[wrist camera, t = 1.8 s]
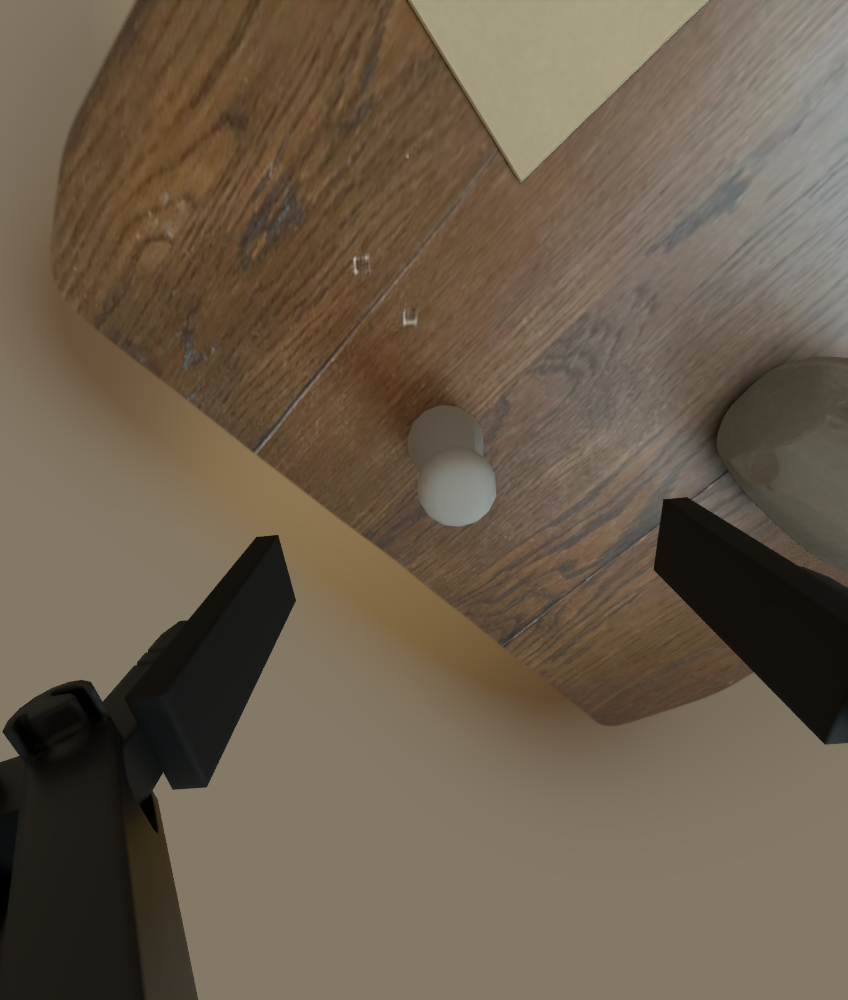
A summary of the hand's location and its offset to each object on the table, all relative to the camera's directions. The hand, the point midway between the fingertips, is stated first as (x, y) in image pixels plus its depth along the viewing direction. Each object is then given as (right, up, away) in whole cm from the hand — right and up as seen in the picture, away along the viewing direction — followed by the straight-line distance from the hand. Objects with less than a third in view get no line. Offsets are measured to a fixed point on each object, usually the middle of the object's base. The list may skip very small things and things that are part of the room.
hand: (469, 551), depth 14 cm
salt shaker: (0, +7, +19) cm, 20 cm away
